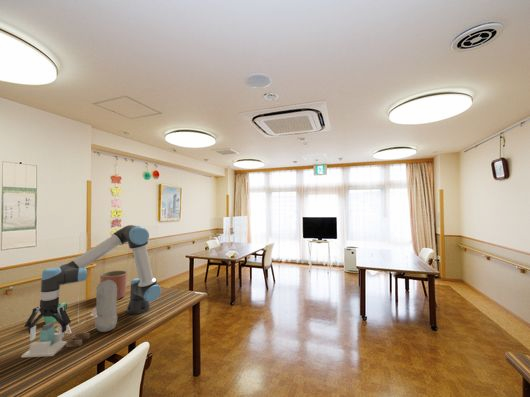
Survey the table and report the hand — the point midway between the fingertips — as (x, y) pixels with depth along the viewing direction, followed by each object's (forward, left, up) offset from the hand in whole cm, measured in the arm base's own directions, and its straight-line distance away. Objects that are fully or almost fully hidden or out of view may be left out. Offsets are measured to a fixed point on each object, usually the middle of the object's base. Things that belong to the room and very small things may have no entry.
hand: (47, 339), depth 127 cm
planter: (0, -74, -6) cm, 74 cm away
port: (0, 0, -5) cm, 6 cm away
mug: (+18, -35, -6) cm, 40 cm away
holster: (-12, -6, -5) cm, 14 cm away
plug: (0, 0, -4) cm, 4 cm away
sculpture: (-20, -19, -6) cm, 28 cm away
